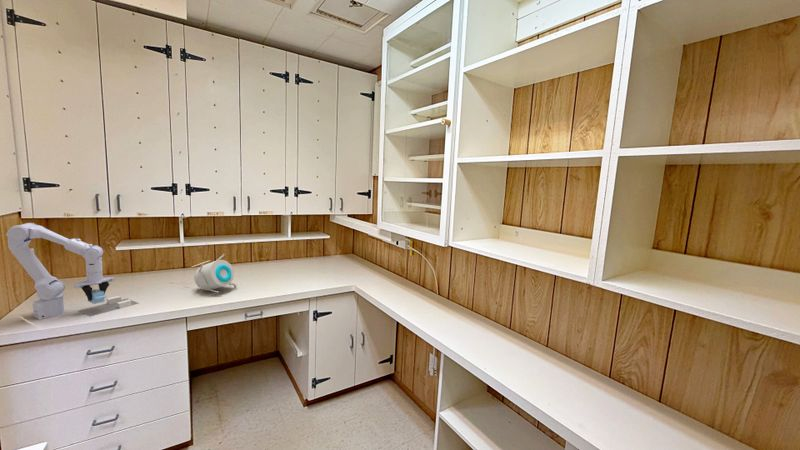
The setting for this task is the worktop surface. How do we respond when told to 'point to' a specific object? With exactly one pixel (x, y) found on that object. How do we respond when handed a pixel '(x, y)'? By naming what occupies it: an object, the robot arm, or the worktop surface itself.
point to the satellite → (214, 275)
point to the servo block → (97, 296)
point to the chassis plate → (108, 306)
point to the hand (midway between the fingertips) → (96, 298)
